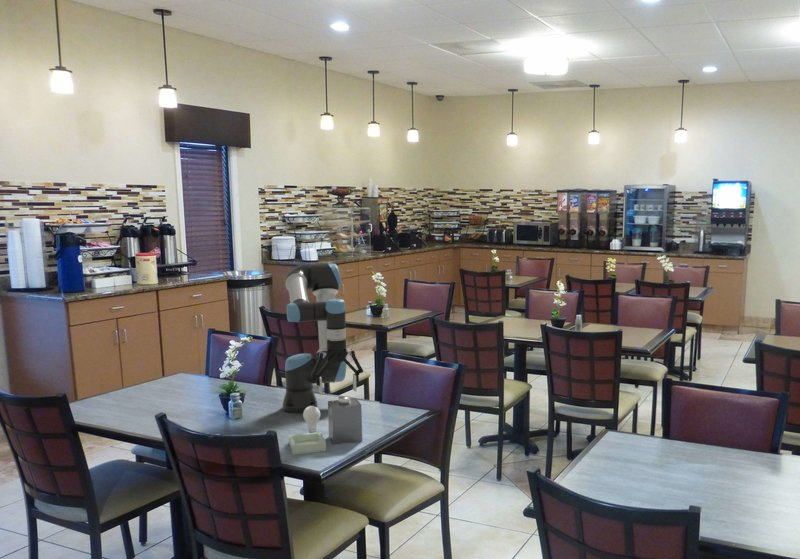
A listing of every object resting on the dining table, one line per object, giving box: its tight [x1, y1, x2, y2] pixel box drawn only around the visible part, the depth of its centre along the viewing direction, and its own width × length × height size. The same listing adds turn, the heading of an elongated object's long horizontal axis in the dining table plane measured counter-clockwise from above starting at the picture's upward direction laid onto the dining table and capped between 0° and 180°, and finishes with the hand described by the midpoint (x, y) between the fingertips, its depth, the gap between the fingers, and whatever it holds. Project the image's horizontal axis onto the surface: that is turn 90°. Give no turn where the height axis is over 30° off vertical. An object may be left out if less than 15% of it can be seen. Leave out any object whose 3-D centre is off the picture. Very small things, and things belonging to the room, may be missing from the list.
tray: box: [288, 431, 327, 455], centre depth 250 cm, size 12×12×3 cm
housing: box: [327, 395, 363, 446], centre depth 258 cm, size 9×11×16 cm
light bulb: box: [302, 406, 321, 433], centre depth 264 cm, size 7×7×11 cm
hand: (337, 392), depth 269 cm, fingers open, 13 cm apart
